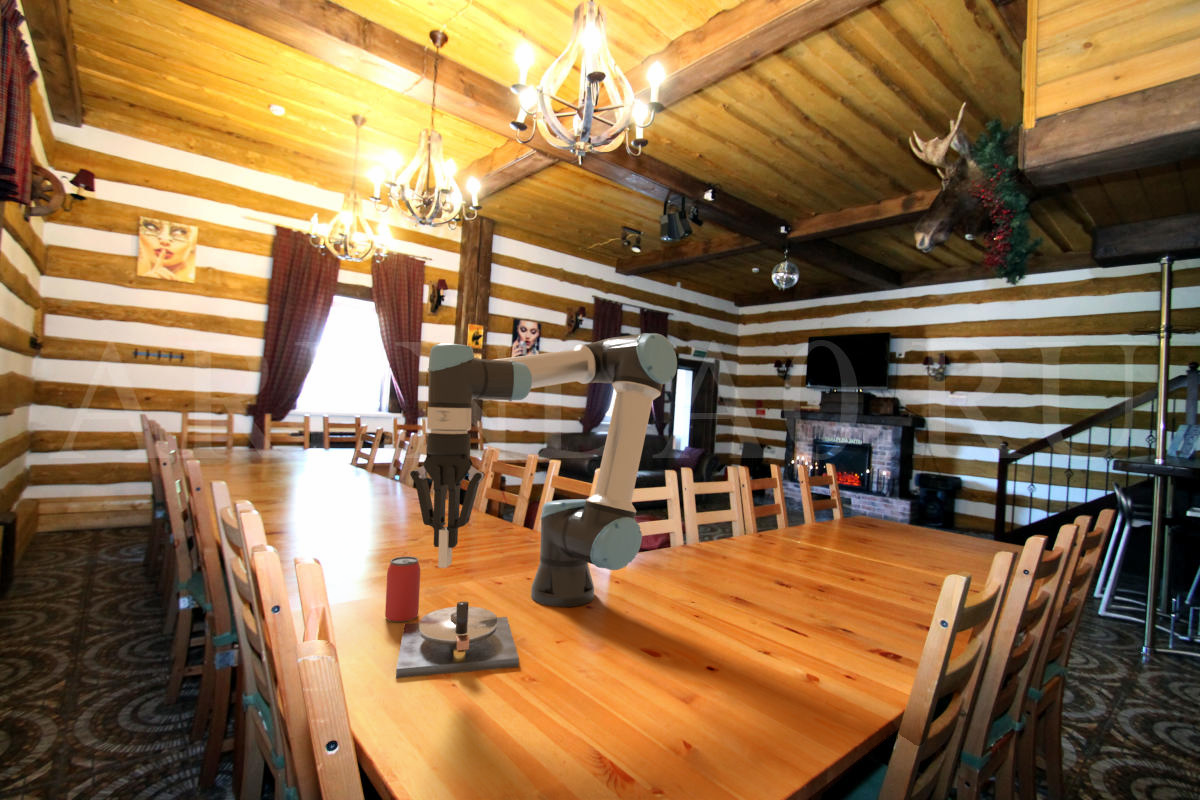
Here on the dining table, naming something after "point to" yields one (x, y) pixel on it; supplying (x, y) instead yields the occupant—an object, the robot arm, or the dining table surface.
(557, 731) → the dining table surface
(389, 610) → the beer can
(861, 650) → the dining table surface
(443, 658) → the base plate
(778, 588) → the dining table surface
